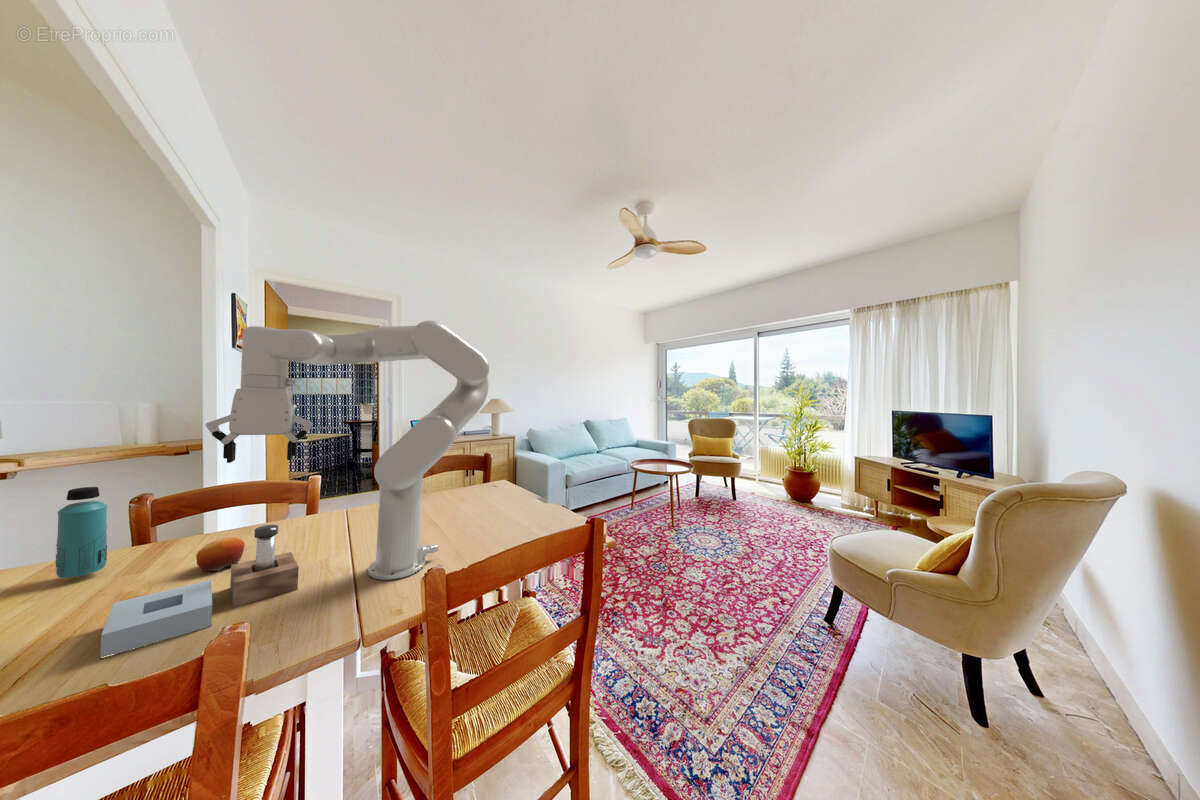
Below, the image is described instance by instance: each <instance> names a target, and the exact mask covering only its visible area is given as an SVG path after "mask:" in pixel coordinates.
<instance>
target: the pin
mask: <svg viewBox="0 0 1200 800" xmlns="http://www.w3.org/2000/svg"><path fill="white" fill-rule="evenodd" d="M278 533H279V525H277V524H266V525H265V524H264V525H261V526H258V527H256V528H255V529H254V539H255V538H256V548H255V550H256V553H255V560H256V572H258V571H262V570H266V569H271V568H274V560H275V555H276V554H275V553H276V535H278Z"/></svg>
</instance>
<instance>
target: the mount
mask: <svg viewBox="0 0 1200 800" xmlns="http://www.w3.org/2000/svg"><path fill="white" fill-rule="evenodd" d="M238 563H239V564H234V565H230V584H229V585H230V587H229V588H230V589H229V590H230V596H231V603H232V609H234V608H236V607H241V606H244V605H247V604H251V603H254V602H258V601H261V600H265V599H268V598H272V597H275V596H279V595H282V594H285V593H286V594H287V593H289V592H292V591H293V592H294V591H297V590H298V589H299V565H298V563H297V561H296V559H295V557H294V555H293V553H292V551H290V552H284V553H280V554H275V560H274V568H271V569H266V570H262V571H258V572H256V559H253V560H248V561H243V562H238Z"/></svg>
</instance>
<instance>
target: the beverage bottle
mask: <svg viewBox="0 0 1200 800" xmlns="http://www.w3.org/2000/svg"><path fill="white" fill-rule="evenodd" d="M98 497H100V491H99V487H97V486H86V487H77V488H76V487H75V488H73V489H69V490H68V491H67V495H66V498H65V499H66V501H79V502H74V503H70V504H67V505H65V506H64V507H61V509H59V510H58V511H57V537H56V547H55V548H56V549H55V550H56V553H55V562H54V563H55V568H56V569H55V570H54V571H55V573H54V574H56V576H57V577H58V578H61V579H67V578H74V577H76V578H77V577H81V576H86V575H89V574H93V573H95V572H99V571H101V570H102V569H104V568H105V566H106V564H107V563H108V558H107V556H108V553H107V552H108V538H107V536H108V534H107V530H108V522H107V513H108V511H107V509H108V505H107V504H106V503H104V502H101V501H99V500H88V499H95V498H98ZM80 500H82V501H81V502H80ZM83 500H87V501H83Z"/></svg>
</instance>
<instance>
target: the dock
mask: <svg viewBox="0 0 1200 800" xmlns="http://www.w3.org/2000/svg"><path fill="white" fill-rule="evenodd" d="M212 594H213V591H212V580H211V579H209V580H204V581H201V582H195V583H192V584H191V583H190V584H188V585H184V586H178V587H175V588H171V589H167V590H162V591H159V592H153V593H150V594H145V595H142V596H138V597H137V596H136V597H132V598H128V599H124V600H121V601H115V602H113V603H112V605H111V608H110V611H109V613H108V616H107V619H106V622H105V624H104V627H103V629H102V632H101V637H100V655H99V656H100V657H104V656H107V655H111V654H117V653H121V652H124V651H127V650H130V649H133V648H137V649H139V648H138V647H141V646H144V645H147V644H150V643H154V642H157V641H160V642H162V641H161V640H164V641H166V640H165V639H167V640H169V638H170V639H173V638H177V637H181V636H182V635H186V634H189V633H193V632H196V631H201V630H203V629H207V628H209V627H212V621H213V620H212V619H213V617H212V616H213V595H212ZM157 643H158V642H157ZM154 644H155V643H154ZM147 646H148V645H147ZM144 647H145V646H144ZM141 648H142V647H141ZM127 652H128V651H127ZM124 653H125V652H124ZM121 654H122V653H121ZM117 655H118V654H117ZM100 657H99V658H100Z"/></svg>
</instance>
